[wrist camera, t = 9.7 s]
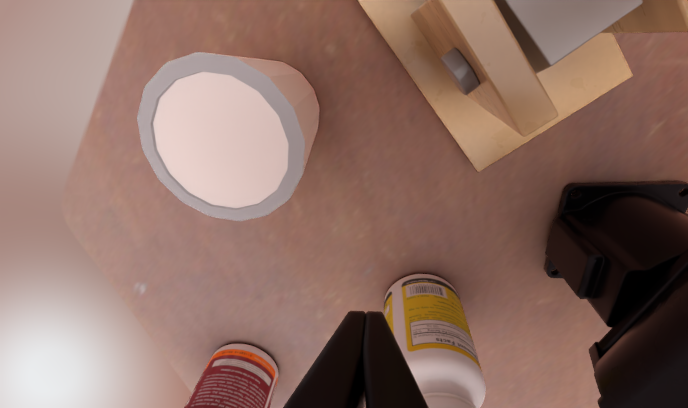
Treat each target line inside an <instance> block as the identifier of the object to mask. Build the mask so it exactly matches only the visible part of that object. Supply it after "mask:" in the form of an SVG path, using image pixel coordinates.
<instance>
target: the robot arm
mask: <svg viewBox="0 0 688 408" xmlns="http://www.w3.org/2000/svg"><path fill="white" fill-rule="evenodd" d="M682 189H683V191H682V192H681V193H679V192H680V190H682ZM574 190H577V192H576V194H574V195H571V193H572V192H573V191H574ZM687 208H688V183H686V182H682V181H674V182H614V183H573V184H569V185H568V186H566V187H565V189H564V191H563V194H562V198H561V202H560V206H559V210H558V214H557V217H556V218H555V219H554V220H553V224H552V228H551V232H550V236H549V240H548V245H547V249H546V255H547V259H546V263H545V267H544V270H545V272H546V273H547V275H548V276H549V277H551V278H564V279H565V281H566V282H567V283H568V285H569V286H570V287H571V289H572V290H573V291H574V293H575V294H576V295H577V296H578V297H579V298H580V299H587V300H588V301H589V303H590V304H591V305H592V307H593V308H594V309H595V311H596V312H597V313H598V314H599V316H600V317H601V318H602V320H603V321H604V322H605V323H606V325H607V326H608V327H613V328H612V329H611V330H610V331H609V332H608V333H607V334H606V335H605V336H604V337H603V338H602V339H601V340H600V341H599V343H598V342H595V343H594V344H593V345H592V346H591V347H590V348H589V353H590V357H591V360H592V364H593V368H594V372H595V373H594V376H595V379H596V382H597V386H598V389H599V392H600V394H601V397H600V398H599V399H598V405H599V407H600V408H688V214H687V213H685V212H686V210H687ZM553 269H556V270H554V271H552V270H553ZM365 405H366V408H429V407H428V405H427V403H426V401H425V399H424V397H423V395H422V393H421V391H420V389H419V387H418V384H417V382H416V380H415V378H414V376H413V374H412V372H411V370H410V368H409V366H408V364H407V362H406V360H405V358H404V355H403V353H402V351H401V349H400V347H399V345H398V343H397V341H396V339H395V337H394V335H393V333H392V331H391V329H390V326H389V324H388V322H387V320H386V318H385V316H384V314H383V313H382V312H374V311H368V312H367V313H365V312H364V311H350V312H348V314H347V315H346V316H345V318H344V319H343V321H342V322H341V324H340V325H339V327H338V328H337V330H336V331H335V333H334V334H333V335H332V337H331V338H330V340H329V341H328V343H327V344H326V346H325V347H324V349H323V350H322V352H321V353H320V355H319V356H318V357H317V359H316V360H315V362H314V363H313V365H312V366H311V368H310V369H309V371H308V372H307V374H306V375H305V376H304V378H303V379H302V381H301V382H300V384H299V385H298V387H297V388H296V390H295V391H294V393H293V394H292V395H291V397H290V398H289V400H288V401H287V403H286V404H285V406H284V407H283V408H365Z"/></svg>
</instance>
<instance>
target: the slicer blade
mask: <svg viewBox="0 0 688 408" xmlns="http://www.w3.org/2000/svg"><path fill="white" fill-rule="evenodd" d="M494 1H495V3H496V5H497V7H498V8H499V10H500V12H501V14H502V15H503V17H504V19H505V21H506V22H507V24H508V26H509V28H510V29H511V31H512V33H513V35H514V36H515V38H516V40H517V42H518V43H519V45H520V47H521V49H522V50H523V52H524V54H525V56H526V57H527V59H528V61H529V63H530V64H531V66H532V68H533V70H534V71H535V73H536V74H537V73H539V72H541V71H543V70H545V69H547V68H549V67H551V66H553V65H554V64H556V63H557V62H559V61H560V60H562V59H563V58H564V57H566V56H567V55H569V54H570V53H572V52H573V51H575V50H576V49H577V48H579V47H580V46H582V45H583V44H585V43H586V42H588V41H589V40H590V39H592V38H593V37H595V36H596V35H598V34H599V33H601V32H602V31H603V30H605V29H606V28H608V27H609V26H611V25H612V24H614V23H615V22H617V21H618V20H619V19H621V18H622V17H624V16H625V15H627V14H628V13H630V12H631V11H632V10H634V9H635V8H637V7H638V6H640V5H641V4H642V3H643V1H642V0H494Z"/></svg>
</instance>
